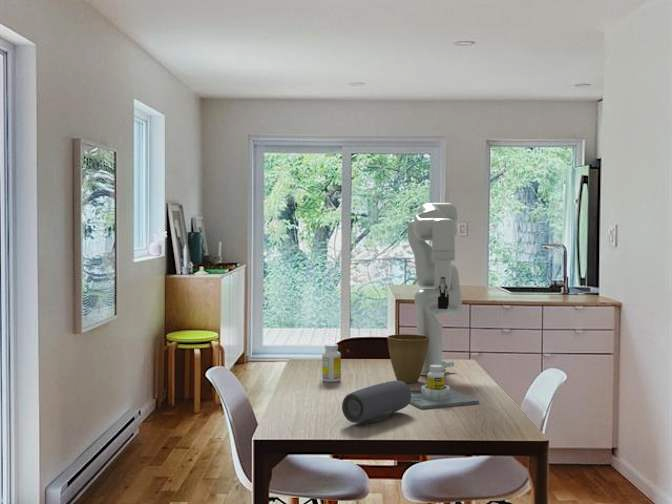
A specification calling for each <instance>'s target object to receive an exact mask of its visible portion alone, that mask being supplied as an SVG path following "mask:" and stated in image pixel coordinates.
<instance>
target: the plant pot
mask: <svg viewBox="0 0 672 504" xmlns="http://www.w3.org/2000/svg"><path fill="white" fill-rule="evenodd" d="M386 338H387V346H388V353H389V358H390V362H391V365H392V369H393V373H394V376H395V378H396V381H402V382H404V383H406V384H415V383H418V382H419V380H420V377H421V376H422V375H421V372H422V369H423V365H424V362H425V358H426V354H427V349H428V343H429V337H427V336H423V335H417V334H413V333H412V334H411V333H409V334H407V333H406V334H405V333H404V334H403V333H401V334H399V333H397V334H390V335H387V337H386Z"/></svg>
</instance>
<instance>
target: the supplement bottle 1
mask: <svg viewBox="0 0 672 504" xmlns="http://www.w3.org/2000/svg"><path fill="white" fill-rule="evenodd" d="M338 349H339V344H336V343H327V344H325V345H324V350H325V351H323V353H322V354H321V357H322V359H321V361H322V362H321V364H322V365H321V366H322V370H321V371H322V372H321V373H322V380H323V382H326V383H327V382H328V383H336V382H340V381H341V379H342V367H341V366H342V356H341V355H342V354H341V352H340V351H338Z"/></svg>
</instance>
